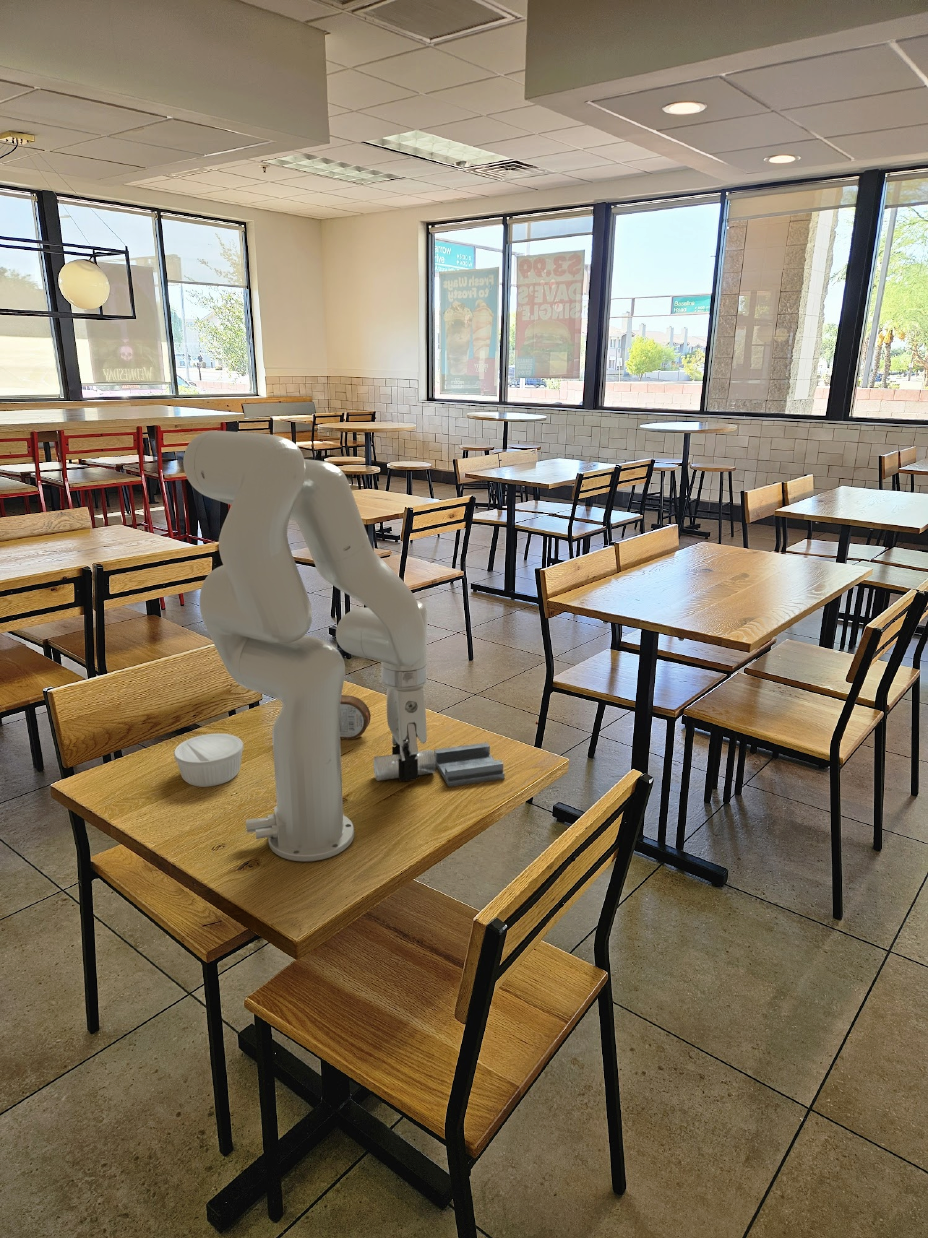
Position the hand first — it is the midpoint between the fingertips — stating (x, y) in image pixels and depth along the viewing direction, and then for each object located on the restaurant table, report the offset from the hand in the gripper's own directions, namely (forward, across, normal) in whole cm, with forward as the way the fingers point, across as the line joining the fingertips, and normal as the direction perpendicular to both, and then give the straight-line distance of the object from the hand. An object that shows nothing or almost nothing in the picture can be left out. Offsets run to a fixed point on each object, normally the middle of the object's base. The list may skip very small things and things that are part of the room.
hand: (404, 772), depth 139 cm
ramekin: (+1, +10, +32) cm, 33 cm away
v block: (+1, -1, -11) cm, 11 cm away
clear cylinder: (+1, 0, 0) cm, 1 cm away
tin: (+1, +19, +10) cm, 22 cm away
